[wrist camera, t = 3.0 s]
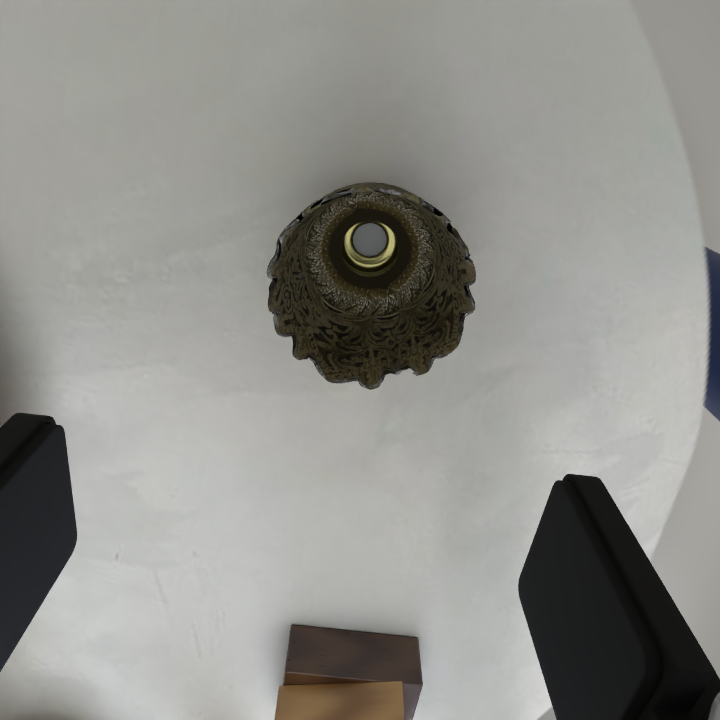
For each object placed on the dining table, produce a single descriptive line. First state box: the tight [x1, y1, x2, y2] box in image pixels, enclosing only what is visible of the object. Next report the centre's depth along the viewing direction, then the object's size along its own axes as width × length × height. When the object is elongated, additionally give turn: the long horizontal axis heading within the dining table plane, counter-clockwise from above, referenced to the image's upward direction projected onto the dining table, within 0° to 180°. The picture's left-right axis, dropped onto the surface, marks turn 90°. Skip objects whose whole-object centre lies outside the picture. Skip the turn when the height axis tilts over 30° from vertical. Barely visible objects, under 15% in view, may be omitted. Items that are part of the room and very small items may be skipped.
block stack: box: [275, 625, 423, 720], centre depth 38 cm, size 10×10×6 cm
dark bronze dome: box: [267, 183, 476, 389], centre depth 23 cm, size 8×7×8 cm
